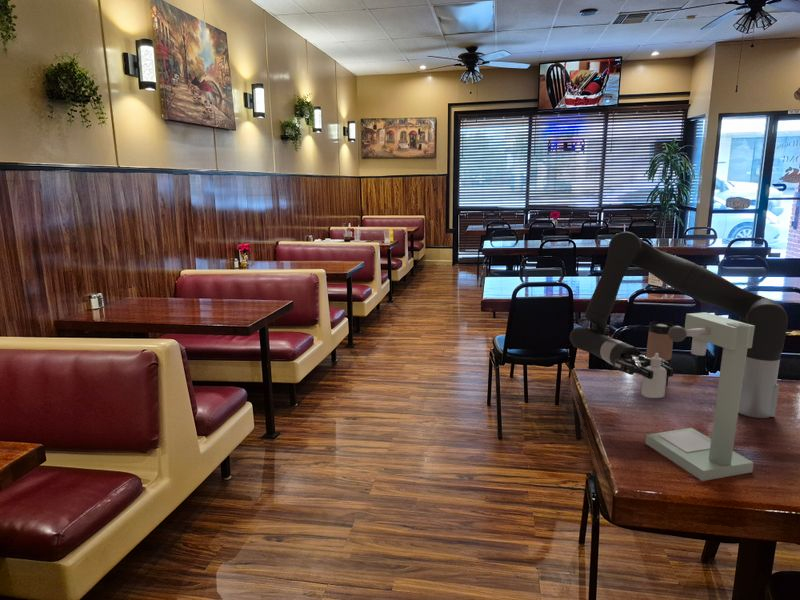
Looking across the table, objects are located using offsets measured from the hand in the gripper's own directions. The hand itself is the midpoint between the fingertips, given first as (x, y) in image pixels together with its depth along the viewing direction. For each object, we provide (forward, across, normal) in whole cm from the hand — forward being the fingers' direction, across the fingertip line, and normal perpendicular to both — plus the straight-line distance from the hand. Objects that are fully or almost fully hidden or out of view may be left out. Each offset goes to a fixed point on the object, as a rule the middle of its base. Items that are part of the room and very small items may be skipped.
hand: (662, 374), depth 133 cm
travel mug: (-32, +27, +17) cm, 45 cm away
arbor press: (+14, -3, +16) cm, 22 cm away
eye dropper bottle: (-2, 0, +7) cm, 8 cm away
